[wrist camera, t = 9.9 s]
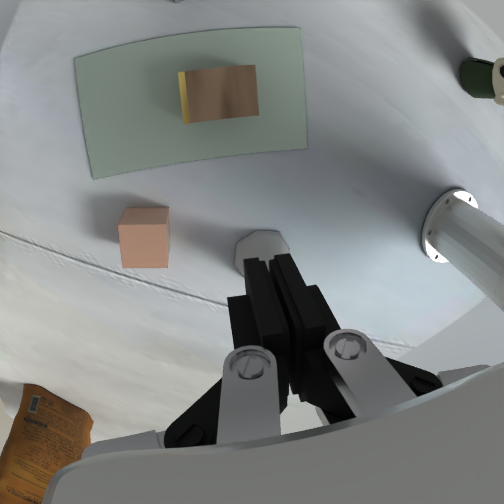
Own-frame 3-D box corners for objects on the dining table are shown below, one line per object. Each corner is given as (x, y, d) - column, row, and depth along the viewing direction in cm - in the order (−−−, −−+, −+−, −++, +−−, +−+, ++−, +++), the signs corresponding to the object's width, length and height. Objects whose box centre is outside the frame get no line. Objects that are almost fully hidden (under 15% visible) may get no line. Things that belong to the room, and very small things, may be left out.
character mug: (478, 43, 30) (545, 49, 18) (494, 82, 33) (558, 97, 22) (441, 71, 32) (515, 81, 20) (460, 114, 35) (529, 134, 24)
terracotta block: (169, 206, 35) (166, 224, 31) (169, 246, 38) (167, 267, 33) (126, 207, 34) (117, 225, 30) (129, 246, 37) (122, 268, 32)
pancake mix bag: (24, 370, 43) (-12, 505, 19) (108, 416, 52) (102, 545, 28) (15, 384, 45) (-16, 507, 21) (94, 427, 53) (86, 545, 29)
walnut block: (179, 74, 28) (248, 67, 29) (184, 120, 30) (251, 112, 31) (177, 72, 25) (255, 64, 25) (183, 124, 27) (259, 115, 28)
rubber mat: (299, 28, 28) (300, 28, 27) (306, 147, 35) (307, 148, 34) (75, 58, 25) (74, 58, 24) (94, 178, 32) (93, 179, 31)
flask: (226, 237, 38) (238, 285, 30) (284, 221, 39) (312, 264, 30) (240, 285, 42) (254, 337, 33) (292, 270, 42) (318, 318, 34)
